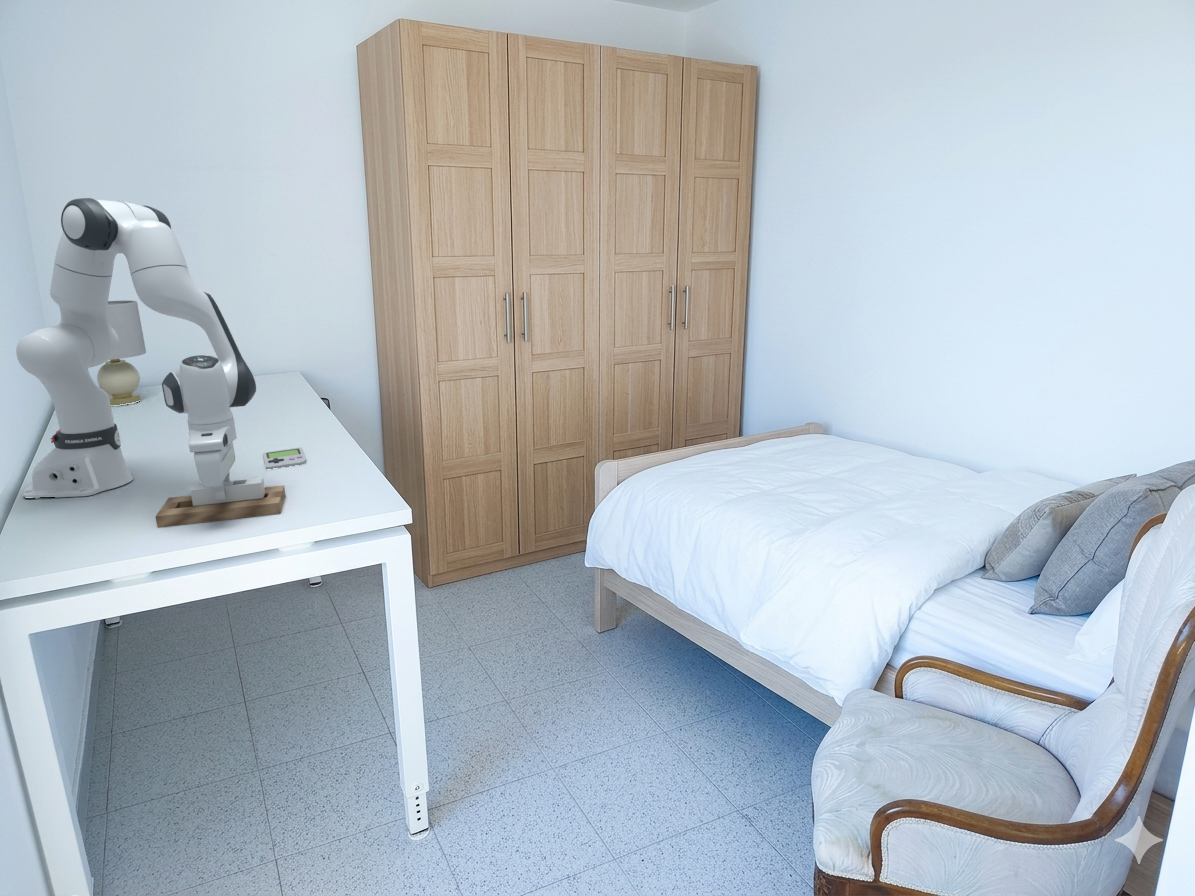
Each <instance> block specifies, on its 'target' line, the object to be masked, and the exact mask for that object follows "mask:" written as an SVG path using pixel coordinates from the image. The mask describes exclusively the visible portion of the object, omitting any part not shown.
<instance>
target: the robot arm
mask: <svg viewBox="0 0 1195 896" xmlns="http://www.w3.org/2000/svg"><path fill="white" fill-rule="evenodd" d="M60 225H61V228H62V233H61V236H60V239H59V241H58V244H57V249H56V253H55V256H54V257H55V258H54V264H53V269H52V271H53V272H52V278H51V283H50V289H49V295H50V297H51V300H52V301H53V302H54V303H56V304H57V305H58V307H59V312H60V322H59V323H58V324H57V325H52V326H49V327H43V328H39V329H36V330H35V331H32V332H30V333H28V334H26V335H25V336H23V337H22V338H21V339H20V340H19V341H18V343H17V345H16V358H17V360H18V363H19V364H20V366H21V367H22V368H23V369H24V371H25V372H28V373H29V374H31V375H32V376H34V377H36V378H37V379H38V381H40V382H41V384H42V385H43V386H44V388H45V389H46V391H47V393H48V395H49V396H50V398H51V400H52V403H53V406H54V410H55V414H56V418H57V422H58V425H59V426H58V427H59V429H58V430H56V431H55V434H53V435H52V437H50V443H51V444H53V445H54V448H53V449H52V450H51V451H50V452H48V453H47V454H46V455H45V456H44V457H43V458H42V459H41V460H40V461H39V462H38V463H36V465H35V466H34V467H33V469H32V474H31V475H32V476H31V481H32V483H31V484H30V485H28V486H27V487H26V488H25V489H24V490H23V493H22V496H23V495H24V496H25V497H55V498H68V497H69V498H73V497H89V496H92V495H93V496H94V495H97V494H99V493H101V492H104V491H108V490H112V489H115V488H119V487H121V486H124V485H126V484H128V483H130V482H132V480H134V476H133V474H132V473H131V471H130V469H129V467H128V465H127V462H126V460H125V458H124V454H123V451H122V448H121V446H122V445H121V444H122V443H121V442H122V441H121V436H120V432H119V430H118V426H117V423H115V421H114V415H113V411H112V407H111V405H110V400H109V396H110V395H109V394H107V392H106V391H105V390H103V389H101V388H100V386H99V385H97V384H96V382H95V381H94V379H93V378H92V376H91V374H90V371H89V369H90V368H94V367H97V366H100V365H101V366H102V365H104V364H105V362H107V361H110V360H109V359H110V358H112V357H113V356H114V355H115V354H116V353H117V351H118V349H119V338H118V336H117V334H116V332H115V331H114V329H113V328H112V327H111V326H110V323H109V318H108V301H109V297H110V290H111V285H112V284H111V283H112V277H113V272H114V264H115V260H116V256H117V254H123V255H124V256H125V258H126V261H127V265H128V269H129V273H130V278H131V281H132V283H133V288H134V291H135V293H136V295H137V297H138V299H139V300H140V302H141V303H143V304H144V306H146V307H148V309H151V310H153V311H154V312H157V313H159V314H161V315H165V316H169V317H173V318H178V319H182V320H185V321H189V322H191V323H193V324H196V325H197V326H199V327H200V328H202V329H203V331H204V332H205V334H206V336H207V338H208V340H209V342H210V344H211V346H212V348H213V350H214V353H215V356H216V357H215V356H212V355H204V354H203V355H201V354H200V355H193V356H187V357H186V358H184V359H182V360H181V361H180V363H179V368H178V369H176V370H174V371H170V372H169V373H168V374H167V375H166V376H165V378H163V381H161V388H162V392H163V398H164V403H165V405H166V407H167V408H169V409H171V411H174V412H176V413H177V414H187V427H188V433H189V434H188V435H189V440H188V441H189V442H188V448H189V452H190V453H193V459H194V464H195V468H196V472H197V476H198V480H199V484H201V485H202V486H203V488H212V487H213V490H214V492H215V495H216V499H217V500H221V499H225V497H226V491H225V489H224V485H223V483H224V482H225V481H231V480H230V479H231V477H230V476H231V472H230V470H231V469H232V467H233V465H234V463H236V452H235V447H234V442H233V441H235V440H237V438H238V436H237V431H236V423H235V417H234V414H233V412H232V409H231V408H238V407H245V406H247V404H249V402H250V401H251V400H252V399H253V397H254V396H255V394H256V392H257V384H256V380H255V377H254V375H253V372H252V371H251V369H250V367H249V366H248V364H247V362H246V361H245V360H244V358H243V356H242V354H241V352H240V350H239V347H238V346H237V344H236V341H235V339H234V337H233V334H232V332H231V330H230V328H229V327H228V323H227V322H226V320H225V317H224V316H223V314H222V312H221V310H220V308H219V306H218V304H217V303H216V301H215V299H214V297H212V296H211V294H210V293H207V292H206V291H203V290H202V289H201V288H200V287H199V286H198V285H197V283H196V282H195V281H194V279H193V278H192V277H191V274H190V272H189V271H190V270H189V269H188V268H189V267H188V266H187V265H188V264H187V261H186V258H185V256H184V253H183V251H182V248H181V245H180V244H179V241H178V239H177V237H176V236H175V235H176V234H175V233H174V231H173V230H172V225H171V222H170V220H169V218H168V216H167V215H165V213H164V212H162V211H160V210H158V209H157V208H154V207H152V206H148V205H140V204H137V203H133V202H128V201H124V200H108V199H95V198H92V197H84V198H75V199H72V200H69V201H68V202H67V203H66V204H65V206H64V207H63V210H62V211H61V216H60Z"/></svg>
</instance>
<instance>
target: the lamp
mask: <svg viewBox="0 0 1195 896" xmlns="http://www.w3.org/2000/svg"><path fill="white" fill-rule="evenodd" d="M138 305H139V304H138V301H137V300H131V299H130V300H127V299H126V300H108V318H109V323H110V326H111V327H112V328H113V329H114V331H115V332H116V334H117V336H118V338H119V349H118V351H117V353H116V354H115V355H114V356H113V357H112V358H110V359H109V360H108V361H106V362H104V363H103V364H102V365H101V367H99V369H98V371H97V375H96V381H97V384H98V387H99V388H101V389H103V390H105V391H106V392H107V394H108V396H109V400H110V405H120V404H126V403H132V402H136V401H139V400H140V399H141V400H142V398H141V394H140V393H139V392H135V391H136V390H137V389H138V388H139V384H140V382H141V377H140V373H139V370H138V369H137V368H136V367H135V366H134V365H133V364H132V363H130V362H128V361H126V359H129V358H133V357H134V358H135V357H139V356H142V355H145V354H147V349H146V344H145V339H144V333H143V327H142V321H141V316H140V311H139V306H138Z"/></svg>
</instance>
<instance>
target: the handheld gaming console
mask: <svg viewBox="0 0 1195 896" xmlns="http://www.w3.org/2000/svg"><path fill="white" fill-rule="evenodd" d="M262 457H263V461H264V465H265V469H266V470H267V469H271V470H274V469H273V468H278V469H282V468H281V467H285V468H290V467H289V466H292V467H296V466H295V465H299V466H303V465H305V464H306V463H307V462H306V461H307V457H306V454H305V452H304V449H303V447H293V448H286V449H279V450H273V451H272V450H271V451H264V452H263V453H262ZM302 464H303V465H302Z"/></svg>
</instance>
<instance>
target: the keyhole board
mask: <svg viewBox="0 0 1195 896" xmlns="http://www.w3.org/2000/svg"><path fill="white" fill-rule="evenodd" d="M264 487H265V495H264V497H263V498H260V499H251V500H242V501H233V502H224V503H215V504H207V505H198V506H193V503H192V497H191V494H190V495H181V496H171V497H170V496H169V497H167V500H166V501H165V503H164V504H163V505H162V506H161V508H160V509H159V511H158V512H157V514H156V515H155V516H154V517H155V521H156V527H157V528H166V527H167V528H168V527H175V526H181V525H182V526H183V525H185V526H186V525H192V524H201V523H202V524H203V523H209V522H219V521H228V520H229V521H230V520H235V519H244V518H245V519H246V518H252V517H253V518H254V517H263V516H271V515H280V514H281V513H282V509H283V506H284V503H285V499H286V495H287V494H286V489H285V485H275V486H267V487H266V486H264Z"/></svg>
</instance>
